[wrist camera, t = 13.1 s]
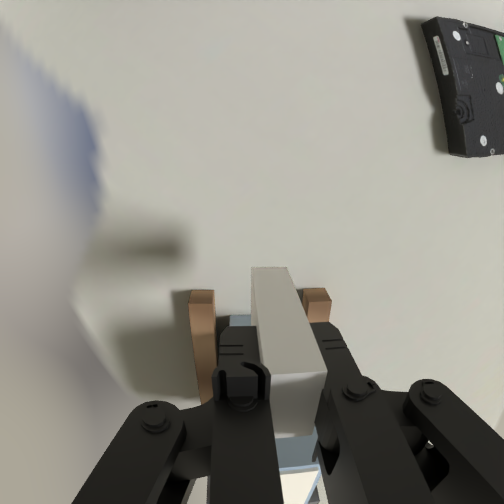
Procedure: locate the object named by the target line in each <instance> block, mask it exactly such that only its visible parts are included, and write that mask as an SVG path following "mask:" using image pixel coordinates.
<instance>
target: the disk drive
mask: <svg viewBox="0 0 504 504" xmlns="http://www.w3.org/2000/svg"><path fill="white" fill-rule="evenodd" d="M421 26H422V29H423V32H424V36H425V38H426V42H427V45H428V49H429V52H430V56H431V59H432V63H433V67H434V71H435V75H436V79H437V83H438V88H439V93H440V98H441V103H442V108H443V114H444V120H445V126H446V131H447V138H448V148H449V154H450V155H454V156H459V157H465V158H471V157H479V158H480V157H488V156H491V155H501V154H504V33H502V32H498V31H496V30H492V29H489V28H485V27H482V26H478V25H475V24H471V23H466V22H463V21H460V20H457V19H451V18H442V17H438V16H437V17H435V18H433V19H430V20H428V21H427V22H425V23H423V24H421Z"/></svg>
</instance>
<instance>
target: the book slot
mask: <svg viewBox="0 0 504 504" xmlns="http://www.w3.org/2000/svg"><path fill="white" fill-rule="evenodd" d="M331 303H332V300H331V299H330V297H329V295H328V293H327V291H326V290H325V288H315V289H303V300H302V306H303V309H304V311H305V314H306V316H307V319H308V321H309V323H313V322H329V316H330V310H331ZM188 308H189V317H190V326H191V335H192V343H193V351H194V359H195V366H196V373H197V380H198V387H199V394H200V400H201V405H202V404H204V403H206V402H208V401H209V400H210V399H211V398H212V397H213V389H212V379H211V376H212V374H213V371H214V369H215V368H216V367H217V366H218V347H217V332H216V316H215V298H214V290H192V291H191V295H190V298H189V302H188ZM209 501H210V475H209V476H208V482H207V504H209ZM319 502H320V500H319V495H318V490H317V485H316V487H315V489H314V491H313V493H312V495H311V497H310V499H309V501H308V503H307V504H318V503H319Z"/></svg>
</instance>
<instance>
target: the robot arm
mask: <svg viewBox="0 0 504 504" xmlns="http://www.w3.org/2000/svg"><path fill="white" fill-rule="evenodd" d="M211 379H212V389H213V397H212V398H211V399H210V400H209V401H208V402H206V403H204V404H202V405H200V406H197V407H194V408H189V409H184V410H179V409H178V408H177V407H176V406H175V405H173V404H170V403H168V402H165V401H150V402H145V403H143V404H141V405H139V406H137V407H136V408H135V409H134V410H133V411H132V412H131V413H130V414H129V416H128V417H127V419H126V420H125V422H124V424H123V425H122V427H121V428H120V430H119V431H118V433H117V434H116V436H115V437H114V439H113V440H112V442H111V443H110V445H109V446H108V448H107V449H106V451H105V452H104V454H103V456H102V457H101V459H100V460H99V462H98V463H97V465H96V466H95V468H94V469H93V471H92V473H91V474H90V476H89V477H88V479H87V480H86V482H85V483H84V485H83V486H82V488H81V490H80V491H79V493H78V494H77V496H76V497H75V499H74V501H73V502H72V504H187V501H188V499H189V496H190V494H191V491H192V488H193V486H194V483H195V481H196V478H200V477H205V476H209V475H210V501H209V504H284V500H283V492H282V485H281V478H280V471H279V464H278V457H277V450H276V442H275V438H288V437H299V436H308V435H312V434H313V430H314V427H316V431H317V435H318V439H317V442H316V445H315V448H314V452H313V455H312V462H316V459H317V456H318V461H319V465H320V469H321V473H322V477H323V482H324V486H325V490H326V494H327V499H328V503H329V504H504V439H502V437H500V436H499V435H498V434H497V433H496V432H495V431H494V430H493V429H492V428H491V427H490V426H489V425H488V424H487V423H486V422H485V421H484V420H482V419H481V418H480V417H479V416H478V415H477V414H476V413H475V412H474V411H473V410H472V409H471V408H470V407H468V406H467V405H466V404H465V403H464V402H463V401H462V400H461V399H460V398H459V397H458V396H456V395H455V394H454V393H453V392H452V391H451V390H450V389H449V388H448V387H447V386H445V385H444V384H442V383H441V382H439V381H435V380H432V379H422V380H419V381H416V382H415V383H413V384H412V385H411V387H410V389H409V392H395V391H385V390H381V389H380V387H379V386H378V385H377V384H376V383H375V381H373V380H371V379H370V378H368V377H366V376H362V375H361V373H360V371H359V369H358V367H357V365H356V363H355V361H354V359H353V357H352V355H351V353H350V351H349V349H348V348H347V345H346V343H345V341H344V340H343V337H342V335H341V333H340V331H339V330H338V329H337V328H336V327H335V326H334V325H332V324H331V323H330V322H313V323H309V321H308V319H307V316H306V314H305V311H304V309H303V306H302V304H301V301H300V299H299V296H298V294H297V291H296V289H295V286H294V284H293V281H292V279H291V276H290V274H289V271H288V269H287V267H251V326H227V327H226V328H225V329H224V331H223V332H222V333H221V334H220V347H219V361H218V366H217V367H216V368H215V369H214V371H213V374H212V376H211ZM428 441H430V442H431V443H432V444H433V445H431V444H429V443H428Z"/></svg>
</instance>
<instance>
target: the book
mask: <svg viewBox="0 0 504 504" xmlns="http://www.w3.org/2000/svg"><path fill="white" fill-rule="evenodd" d="M230 326H251V315H230ZM317 439H318V435H317V431H316V427H314V430H313V434H312V435H308V436H299V437H288V438H275V442H276V450H277V457H278V464H279V471H280V478H281V485H282V492H283V500H284V504H307V503H308V501H309V499H310V497H311V495H312V493H313V491H314V489H315V487H316V485H317V483H318V480H319V478H320V476H321V474H322V473H321V469H320V465H319V461H318V456H317V459H316V462H312V455H313V452H314V448H315V445H316V442H317Z"/></svg>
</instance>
